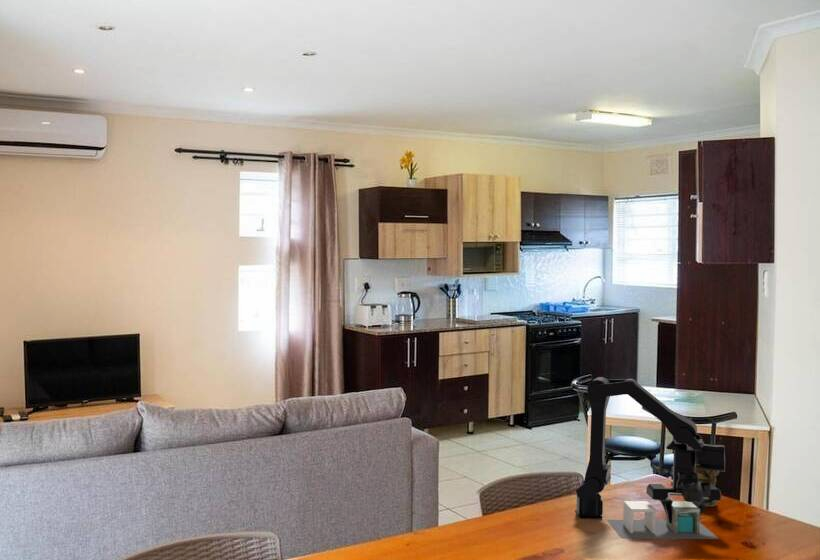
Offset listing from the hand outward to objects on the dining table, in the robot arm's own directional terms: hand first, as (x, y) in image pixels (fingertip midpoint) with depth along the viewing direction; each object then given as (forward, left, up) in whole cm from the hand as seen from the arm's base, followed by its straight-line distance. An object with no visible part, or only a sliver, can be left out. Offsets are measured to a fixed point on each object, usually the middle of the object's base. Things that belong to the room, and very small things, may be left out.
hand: (682, 523), depth 207 cm
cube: (0, 0, -2) cm, 2 cm away
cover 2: (0, 0, -2) cm, 2 cm away
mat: (-6, 0, -2) cm, 6 cm away
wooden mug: (+15, +21, -2) cm, 26 cm away
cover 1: (-12, 0, -2) cm, 12 cm away
